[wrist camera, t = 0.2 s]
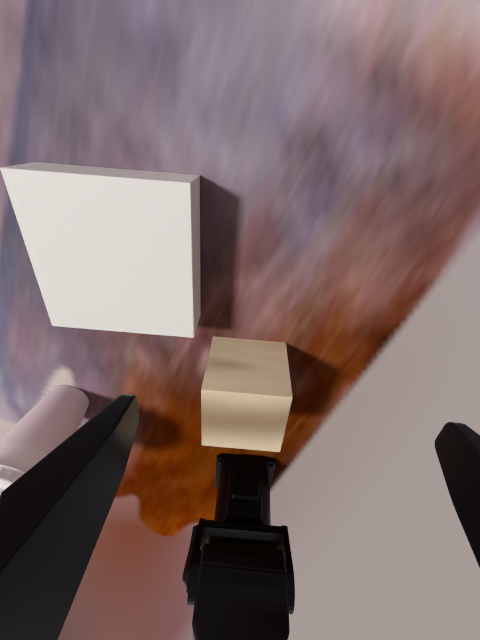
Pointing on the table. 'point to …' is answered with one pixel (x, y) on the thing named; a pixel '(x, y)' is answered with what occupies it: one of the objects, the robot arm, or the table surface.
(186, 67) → the table surface
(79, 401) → the smoothie
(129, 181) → the plinth
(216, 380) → the maple cube
